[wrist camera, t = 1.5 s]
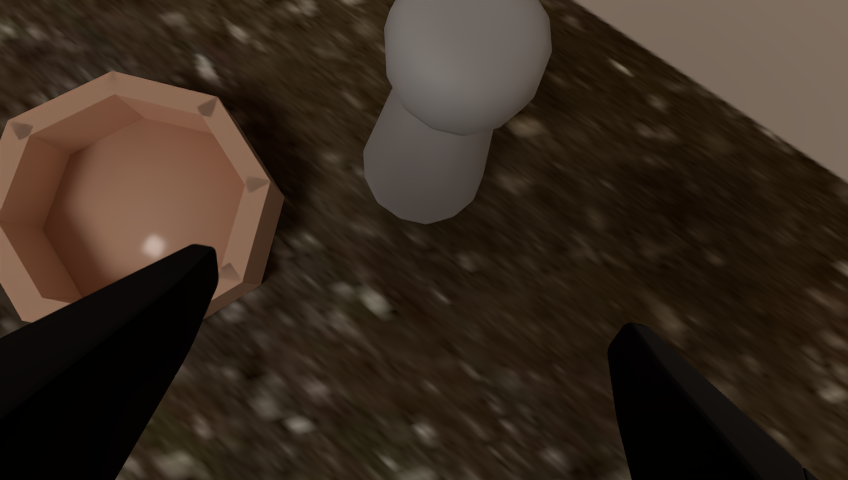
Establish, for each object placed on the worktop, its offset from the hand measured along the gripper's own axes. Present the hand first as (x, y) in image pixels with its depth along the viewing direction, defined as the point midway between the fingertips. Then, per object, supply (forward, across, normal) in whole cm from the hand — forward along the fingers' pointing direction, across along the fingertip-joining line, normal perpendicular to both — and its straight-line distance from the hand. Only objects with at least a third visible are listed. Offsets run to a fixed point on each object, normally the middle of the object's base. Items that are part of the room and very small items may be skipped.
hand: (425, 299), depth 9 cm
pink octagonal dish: (+10, +12, +8) cm, 18 cm away
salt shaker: (+14, 0, +4) cm, 14 cm away
